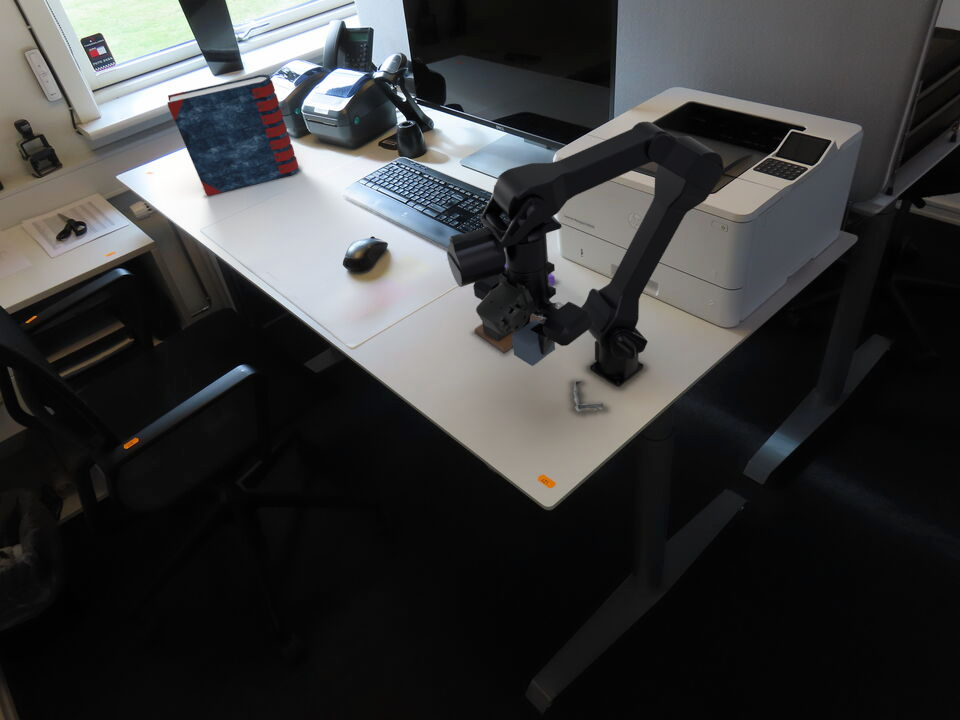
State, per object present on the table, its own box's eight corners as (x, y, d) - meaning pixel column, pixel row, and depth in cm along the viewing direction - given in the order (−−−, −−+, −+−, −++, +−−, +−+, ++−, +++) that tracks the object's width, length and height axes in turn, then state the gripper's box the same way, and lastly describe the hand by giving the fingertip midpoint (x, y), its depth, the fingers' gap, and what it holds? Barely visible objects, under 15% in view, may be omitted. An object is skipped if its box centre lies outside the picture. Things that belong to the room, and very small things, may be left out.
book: (298, 163, 185) (269, 71, 168) (301, 173, 180) (271, 80, 163) (206, 186, 181) (167, 94, 164) (206, 197, 176) (166, 103, 159)
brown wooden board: (548, 322, 122) (548, 318, 122) (504, 352, 118) (503, 348, 117) (518, 304, 127) (518, 300, 127) (474, 333, 123) (474, 328, 122)
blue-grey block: (555, 349, 102) (554, 329, 99) (532, 366, 100) (530, 346, 97) (536, 338, 105) (534, 318, 102) (513, 354, 102) (511, 335, 100)
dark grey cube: (518, 328, 121) (517, 311, 118) (498, 342, 119) (496, 324, 116) (503, 319, 123) (501, 301, 120) (483, 332, 121) (481, 315, 118)
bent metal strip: (611, 397, 105) (590, 413, 103) (611, 403, 106) (590, 419, 104) (577, 376, 110) (556, 391, 108) (577, 382, 111) (556, 397, 108)
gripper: (438, 264, 93) (454, 347, 104) (535, 318, 82) (542, 405, 92) (496, 229, 98) (506, 312, 109) (594, 276, 87) (595, 363, 97)
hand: (534, 346), depth 102 cm, fingers closed on blue-grey block, 4 cm apart
